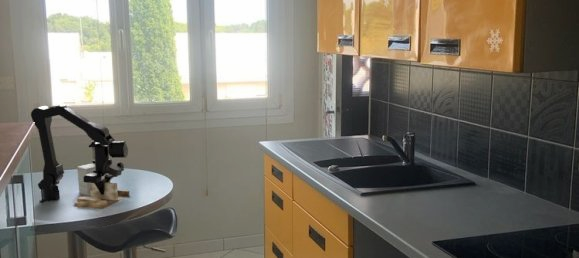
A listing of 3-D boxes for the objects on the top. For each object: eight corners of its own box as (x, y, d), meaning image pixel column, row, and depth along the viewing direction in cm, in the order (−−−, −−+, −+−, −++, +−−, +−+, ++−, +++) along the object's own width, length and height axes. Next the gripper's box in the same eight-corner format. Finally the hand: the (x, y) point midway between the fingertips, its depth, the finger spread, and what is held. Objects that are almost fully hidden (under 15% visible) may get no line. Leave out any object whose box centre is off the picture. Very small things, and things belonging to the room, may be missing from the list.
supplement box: (103, 193, 257) (101, 165, 255) (87, 197, 252) (85, 168, 250) (94, 190, 262) (92, 163, 260) (78, 194, 257) (76, 166, 255)
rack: (72, 207, 238) (72, 201, 238) (101, 194, 257) (100, 188, 256) (102, 210, 234) (102, 204, 234) (129, 197, 253) (129, 190, 252)
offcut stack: (74, 205, 238) (73, 198, 238) (80, 202, 242) (79, 195, 242) (102, 208, 235) (101, 201, 234) (108, 205, 239) (107, 198, 238)
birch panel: (90, 198, 248) (89, 181, 247) (93, 197, 250) (92, 180, 248) (115, 200, 245) (114, 184, 243) (118, 199, 246) (117, 183, 245)
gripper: (105, 163, 233) (107, 202, 236) (131, 153, 250) (133, 189, 253) (81, 162, 236) (83, 199, 239) (108, 152, 254) (110, 187, 256)
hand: (104, 194), depth 247 cm, fingers closed on birch panel, 2 cm apart
